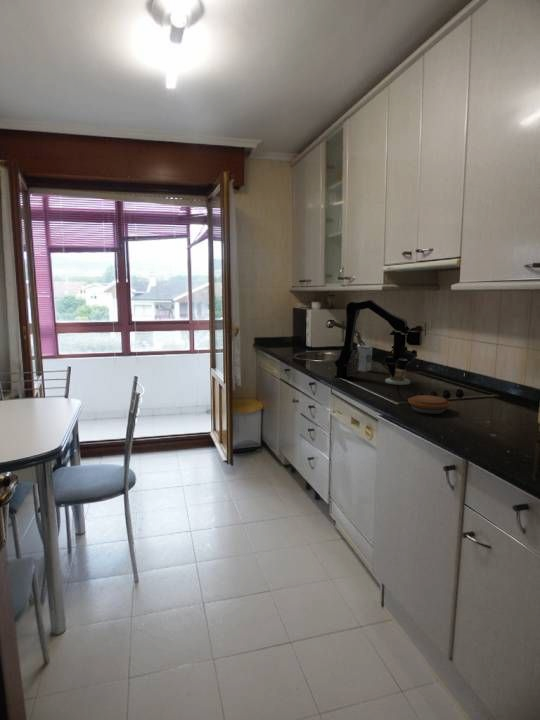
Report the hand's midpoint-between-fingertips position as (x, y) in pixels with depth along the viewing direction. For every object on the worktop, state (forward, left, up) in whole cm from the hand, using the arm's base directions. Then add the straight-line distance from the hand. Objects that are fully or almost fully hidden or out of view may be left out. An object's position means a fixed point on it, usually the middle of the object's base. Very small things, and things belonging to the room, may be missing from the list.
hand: (397, 375), depth 224 cm
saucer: (0, 0, -4) cm, 4 cm away
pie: (-39, -35, -4) cm, 53 cm away
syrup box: (+16, +30, -4) cm, 34 cm away
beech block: (0, 0, -2) cm, 2 cm away
